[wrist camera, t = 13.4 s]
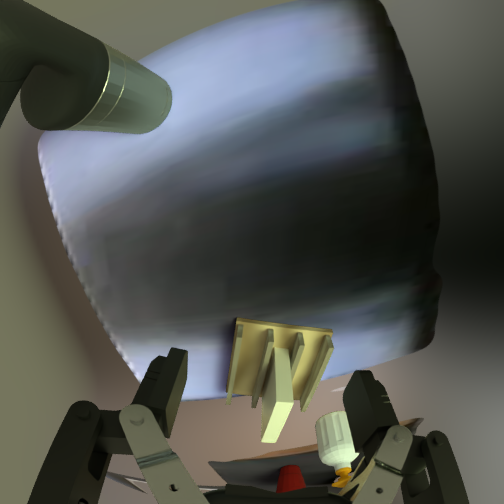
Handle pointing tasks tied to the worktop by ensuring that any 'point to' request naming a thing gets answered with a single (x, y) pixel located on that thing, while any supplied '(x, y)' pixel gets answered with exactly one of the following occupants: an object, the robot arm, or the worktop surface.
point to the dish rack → (260, 354)
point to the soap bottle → (336, 444)
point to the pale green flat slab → (276, 396)
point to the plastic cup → (290, 479)
